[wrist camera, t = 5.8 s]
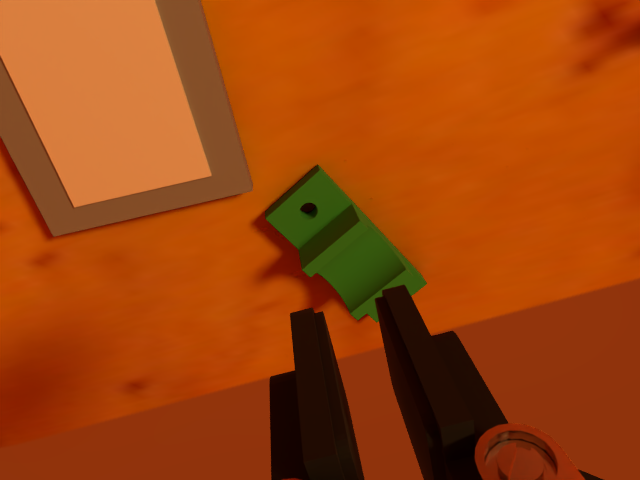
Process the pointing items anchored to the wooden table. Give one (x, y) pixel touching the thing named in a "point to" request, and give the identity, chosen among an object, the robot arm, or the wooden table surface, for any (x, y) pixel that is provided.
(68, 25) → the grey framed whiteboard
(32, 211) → the wooden table surface
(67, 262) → the wooden table surface
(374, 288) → the pipe clamp
